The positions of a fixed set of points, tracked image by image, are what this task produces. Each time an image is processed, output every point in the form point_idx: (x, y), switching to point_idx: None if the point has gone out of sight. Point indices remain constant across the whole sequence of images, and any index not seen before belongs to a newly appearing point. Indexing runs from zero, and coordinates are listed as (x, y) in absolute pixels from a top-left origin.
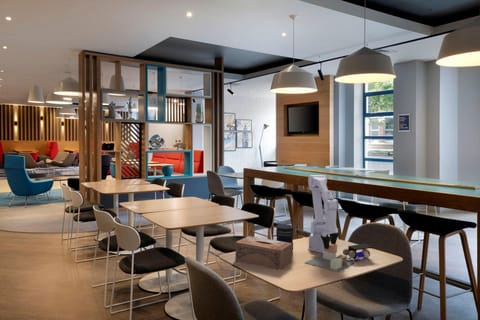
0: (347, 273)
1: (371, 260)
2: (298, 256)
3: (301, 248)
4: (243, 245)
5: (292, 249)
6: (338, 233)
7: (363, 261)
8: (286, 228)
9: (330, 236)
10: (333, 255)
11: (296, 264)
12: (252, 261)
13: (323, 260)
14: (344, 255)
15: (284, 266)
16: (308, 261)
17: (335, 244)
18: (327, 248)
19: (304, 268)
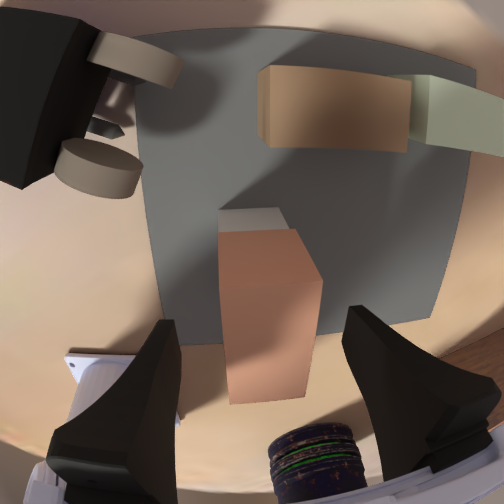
0: (457, 12)
1: (4, 2)
2: (332, 394)
3: (186, 441)
4: None
5: (300, 446)
6: (94, 466)
7: (65, 13)
8: None
9: (173, 460)
10: (283, 228)
11: (459, 325)
12: None
13: (328, 266)
14: (281, 95)
15: (495, 333)
16: (405, 317)
17: (224, 312)
18: (367, 312)
19: (497, 266)
